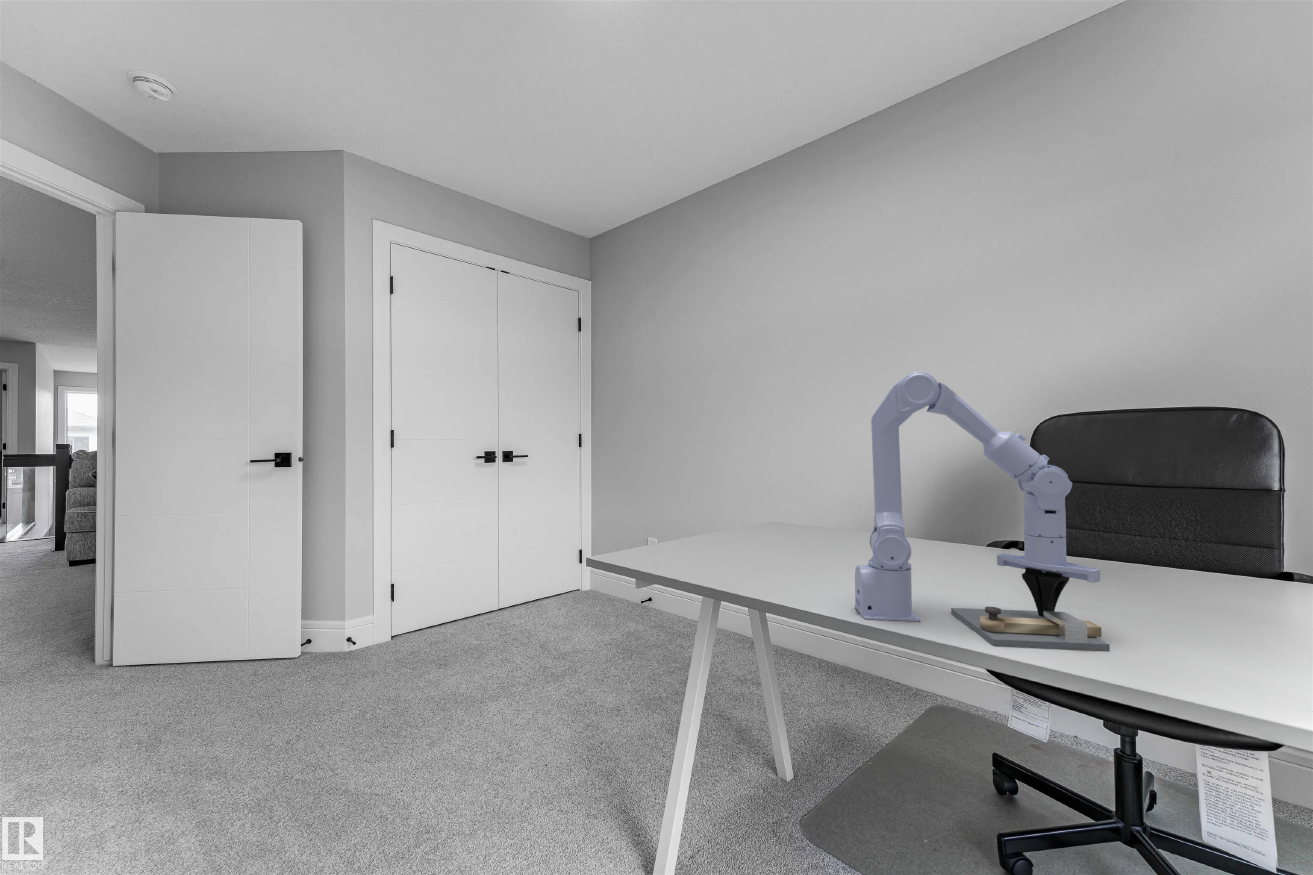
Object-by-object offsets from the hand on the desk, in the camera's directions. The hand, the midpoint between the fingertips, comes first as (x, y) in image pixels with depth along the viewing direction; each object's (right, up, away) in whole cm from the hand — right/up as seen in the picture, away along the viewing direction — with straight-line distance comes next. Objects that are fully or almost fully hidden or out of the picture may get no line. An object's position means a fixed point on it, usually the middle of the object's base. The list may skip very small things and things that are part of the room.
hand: (1046, 616), depth 89 cm
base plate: (-5, -2, -1) cm, 5 cm away
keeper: (-2, -1, -7) cm, 8 cm away
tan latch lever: (-5, -1, -5) cm, 7 cm away
